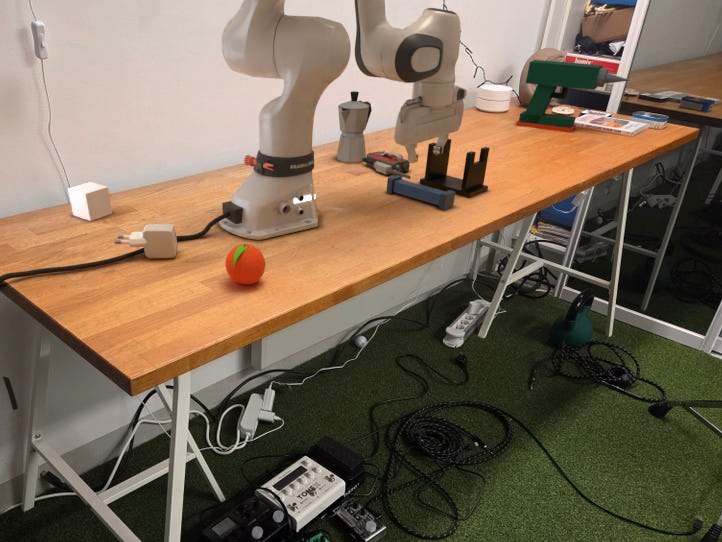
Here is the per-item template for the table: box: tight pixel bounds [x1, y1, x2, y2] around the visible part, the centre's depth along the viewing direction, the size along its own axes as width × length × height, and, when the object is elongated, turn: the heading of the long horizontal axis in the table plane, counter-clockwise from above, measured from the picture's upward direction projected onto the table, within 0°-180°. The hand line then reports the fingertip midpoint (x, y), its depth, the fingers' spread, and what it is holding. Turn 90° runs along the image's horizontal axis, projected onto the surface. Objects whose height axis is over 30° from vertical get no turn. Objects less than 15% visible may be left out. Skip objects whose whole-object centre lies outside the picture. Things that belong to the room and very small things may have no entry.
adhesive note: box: [67, 181, 113, 222], centre depth 134 cm, size 6×6×6 cm
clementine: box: [225, 243, 266, 285], centre depth 105 cm, size 8×7×7 cm
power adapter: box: [114, 223, 178, 259], centre depth 115 cm, size 11×5×6 cm, turn 93°
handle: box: [386, 175, 456, 211], centre depth 144 cm, size 4×17×4 cm, turn 44°
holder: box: [418, 138, 490, 199], centre depth 151 cm, size 8×15×10 cm, turn 44°
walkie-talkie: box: [362, 150, 411, 180], centre depth 163 cm, size 9×4×20 cm
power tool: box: [515, 59, 632, 133], centre depth 202 cm, size 32×7×20 cm, turn 58°
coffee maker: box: [336, 90, 373, 164], centre depth 170 cm, size 15×9×18 cm, turn 143°
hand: (425, 158), depth 140 cm, fingers open, 8 cm apart
